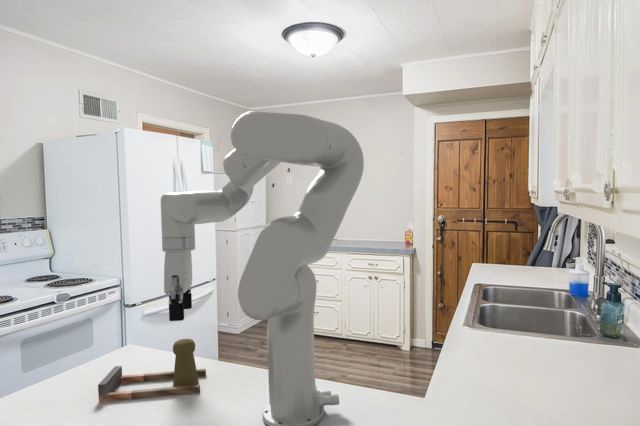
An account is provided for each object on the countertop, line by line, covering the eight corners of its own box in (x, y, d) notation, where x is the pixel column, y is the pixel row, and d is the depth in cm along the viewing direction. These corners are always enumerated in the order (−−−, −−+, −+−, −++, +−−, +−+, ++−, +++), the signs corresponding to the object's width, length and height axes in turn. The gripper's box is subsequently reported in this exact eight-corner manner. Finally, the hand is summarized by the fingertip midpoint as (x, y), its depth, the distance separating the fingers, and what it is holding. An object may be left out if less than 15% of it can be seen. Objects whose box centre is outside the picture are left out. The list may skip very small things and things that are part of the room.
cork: (191, 391, 97) (188, 345, 96) (167, 389, 98) (165, 344, 97) (203, 380, 103) (201, 336, 102) (181, 378, 104) (179, 335, 103)
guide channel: (205, 374, 106) (205, 359, 106) (199, 393, 96) (198, 376, 95) (115, 382, 103) (114, 366, 103) (98, 402, 93) (97, 384, 93)
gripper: (171, 240, 107) (173, 305, 108) (152, 249, 90) (155, 326, 91) (200, 239, 108) (202, 304, 109) (188, 248, 91) (190, 324, 92)
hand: (181, 314), depth 100 cm, fingers open, 9 cm apart
